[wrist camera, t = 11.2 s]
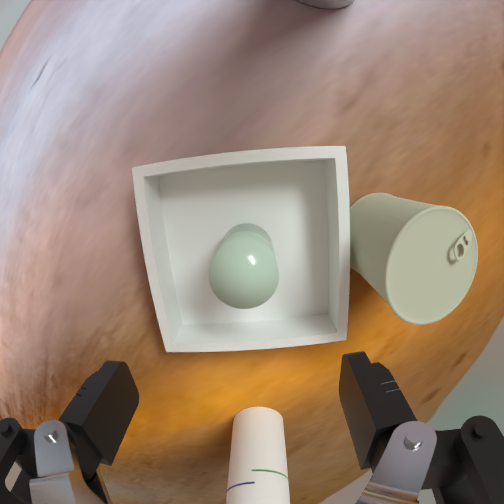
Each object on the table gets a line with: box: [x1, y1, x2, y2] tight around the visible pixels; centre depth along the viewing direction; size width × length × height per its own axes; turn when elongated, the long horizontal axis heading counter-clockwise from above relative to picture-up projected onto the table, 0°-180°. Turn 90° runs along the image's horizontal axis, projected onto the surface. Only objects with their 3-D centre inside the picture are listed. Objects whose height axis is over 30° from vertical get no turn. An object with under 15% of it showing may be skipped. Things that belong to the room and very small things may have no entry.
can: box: [349, 193, 478, 325], centre depth 23 cm, size 9×9×12 cm
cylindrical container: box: [226, 407, 290, 504], centre depth 23 cm, size 7×7×25 cm
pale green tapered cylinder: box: [209, 223, 279, 309], centre depth 24 cm, size 5×5×8 cm
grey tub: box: [132, 146, 350, 352], centre depth 26 cm, size 18×18×5 cm
